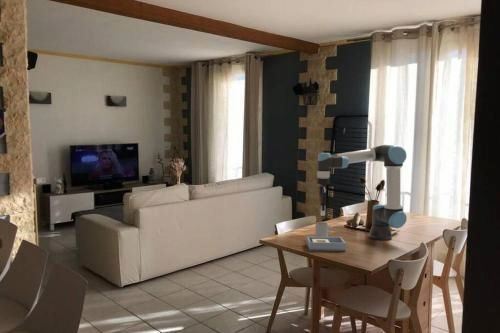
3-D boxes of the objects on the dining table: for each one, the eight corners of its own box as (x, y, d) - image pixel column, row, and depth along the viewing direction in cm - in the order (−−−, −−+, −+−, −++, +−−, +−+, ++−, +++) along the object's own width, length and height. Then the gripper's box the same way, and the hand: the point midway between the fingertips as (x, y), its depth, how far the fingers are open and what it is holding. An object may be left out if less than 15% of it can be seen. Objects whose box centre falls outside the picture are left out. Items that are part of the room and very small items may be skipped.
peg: (324, 218, 252) (325, 196, 251) (325, 219, 248) (326, 197, 247) (318, 218, 253) (318, 196, 251) (319, 219, 249) (320, 197, 247)
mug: (320, 241, 265) (321, 225, 264) (312, 238, 272) (312, 222, 272) (334, 239, 272) (334, 223, 271) (325, 236, 279) (326, 221, 278)
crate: (340, 244, 259) (340, 237, 259) (345, 251, 245) (345, 243, 245) (306, 244, 259) (306, 236, 259) (309, 250, 245) (309, 242, 245)
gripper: (315, 176, 257) (314, 212, 259) (319, 179, 240) (318, 217, 242) (326, 176, 257) (325, 212, 259) (332, 179, 240) (330, 217, 242)
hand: (322, 214), depth 250 cm, fingers closed on peg, 4 cm apart
